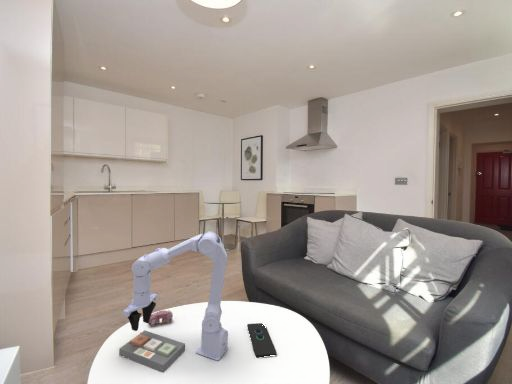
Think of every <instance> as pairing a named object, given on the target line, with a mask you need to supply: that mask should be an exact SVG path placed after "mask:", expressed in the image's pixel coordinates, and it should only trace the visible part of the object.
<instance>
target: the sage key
mask: <svg viewBox="0 0 512 384" xmlns="http://www.w3.org/2000/svg"><path fill="white" fill-rule="evenodd" d="M175 350H176V346H174V345H171V344H168V343H165V344H164V345H163V346H162V347H161V348H159V349H158V350H157V354H160V355H163V356H165V357H169V356H170V355H171V354H172V353H173V352H174V351H175Z"/></svg>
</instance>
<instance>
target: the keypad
mask: <svg viewBox="0 0 512 384" xmlns="http://www.w3.org/2000/svg"><path fill="white" fill-rule="evenodd" d="M139 334H142V335H145V336H147V337H149V341H150V340H151V339H152V338H153V339H156V340H159V341H162V346H163V345H164V344H165V343H168V344H171V345H174V346H176V350H175V351H174V352H173V353H172V354H171V355H170V356H169V357H165V356H163V355H160V354H157V350H158V349H159V348H161V347H162V346H160V347H159V348H158V349H157V350H156V351H155V352H152V351H149V350H146V349H144V345H145V344H146V343H145V344H144V345H143V346H141V347H138V346H135V345H132V344H131V340H132V339H134V338H135V337H137V336H138V335H139ZM139 334H138V335H136V336H135V337H133V338H132V339H130V340H129V341H128V342H126V343H125V344H124V345H122V346H120V347H119V348H118V350H119V351H118V352H119V353H118V355H119V356H120V355H122V356H124V357H123V358H125V357H126V358H125V359H127V358H129V359H128V360H130V361H133V362H136V363H138V364H140V365H144V366H146V367H148V368H151V369H153V370H156V371H159V372H161V373H164V372H165V371H166V370H167V369H168V368H169V367H170V366H171V365H172V364H173V363H174V361H176V360H177V359H178V358H179V357H181V355H182V354H183V353H184V352H185V350H186V343H184V342H181V341H178V340H176V339H172V338H168V337H167V336H164V335H160V334H158V333H154V332H152V331H148V330H143V331H142V332H140V333H139ZM149 341H148V342H149ZM122 356H121V357H122Z"/></svg>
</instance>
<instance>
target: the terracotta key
mask: <svg viewBox="0 0 512 384" xmlns="http://www.w3.org/2000/svg"><path fill="white" fill-rule="evenodd" d="M136 336H137V335H136ZM136 336H135V337H133V338H134V339H133V338H132V339H130V340H131V344H132V345H135V346H138V347H141V346H143V345H144V344H145V343H147V342H148V341H149V337H147V336H145V335H142V334H140V333H139V334H138V336H137V337H136Z"/></svg>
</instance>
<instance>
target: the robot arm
mask: <svg viewBox="0 0 512 384" xmlns="http://www.w3.org/2000/svg"><path fill="white" fill-rule="evenodd" d="M189 251H192V252H196V253H198V252H200V253H201V254H202V255H204V256H206V257H207V258H209V259H211V260H212V262H213V266H212V273H211V282H210V287H209V295H208V302H207V305H206V306H207V307H206V308H205V312H204V317H203V320H202V322H201V339H200V340H201V341H200V346H199V348H197V350H196V351H195V353H196V354H198V355H200V356H203V357H206V358H207V359H211V360H214V361H217V362H218V361H220V359H221V358H222V357H223V356H224V354H225V353H226V351H227V350H228V349H229V346H228V340H229V339H228V338H229V332H228V330H227V329H225V328H223V326H222V323H221V316H222V315H223V314H222V313H223V311H222V308H221V302H222V296H223V287H224V282H225V275H226V269H227V263H228V253H227V251H226V248H225V247H224V243H222V239H221V237H220V236H219V235H218V234H217V233H216V232H214V231H211V230H210V231H206V232H204V233H201V234H197V235H195V236H193V237H191V238H189V239H187V240H185V241H183V242H180V243H178V244H176V245H175V246H172V247H170V248H166V247H158V248H156V249H155V251H153V252H151V253H149V254H148V253H144V255H143V256H140V257H138V259H137V260H135V261H134V262H133V263H132V265H131V268H130V269H131V273H132V274H133V285H132V286H133V287H132V299H131V303H130V304H129V305H128V306H127V307H126V308H125V309H123V311H122V316H123V317H126V318H127V319H128V321H129V323H130V327H131V330H132V331H134V332H137V331H139V324H140V320H141V317H142V322H143V323H145V324H150V323H149V320H150V317H151V314H153V311H154V309H155V307H156V306H157V302H155V301H157V300H158V294H157V293H151V280H152V277H151V274H152V272H151V271H153V270H156V269H158V268H160V267H162V266H165V265H166V264H168V263H170V262H171V260H172V258H174V257H177V256H179V255H181V254H184V253H186V252H189ZM138 310H142V313H140V312H139V311H138Z"/></svg>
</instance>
